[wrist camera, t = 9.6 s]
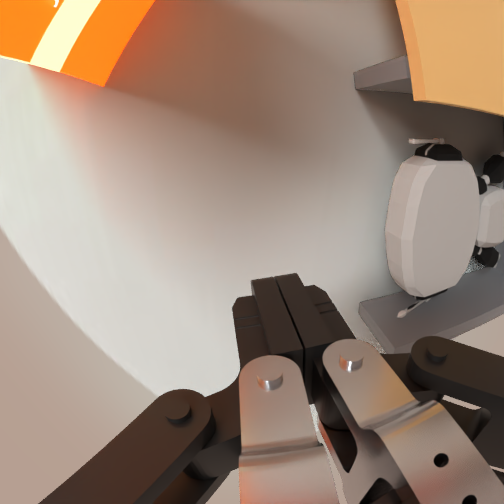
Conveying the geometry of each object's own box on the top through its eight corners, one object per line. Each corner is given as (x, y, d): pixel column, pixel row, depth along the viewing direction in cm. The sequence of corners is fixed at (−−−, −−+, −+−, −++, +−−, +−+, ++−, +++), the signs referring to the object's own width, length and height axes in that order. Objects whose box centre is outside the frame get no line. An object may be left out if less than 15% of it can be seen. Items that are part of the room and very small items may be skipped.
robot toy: (488, 141, 19) (367, 135, 18) (524, 148, 15) (410, 138, 13) (478, 259, 24) (366, 295, 22) (508, 277, 20) (397, 326, 18)
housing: (358, 314, 23) (391, 360, 18) (353, 72, 16) (404, 55, 10) (496, 272, 24) (531, 298, 19) (508, 101, 17) (554, 107, 11)
